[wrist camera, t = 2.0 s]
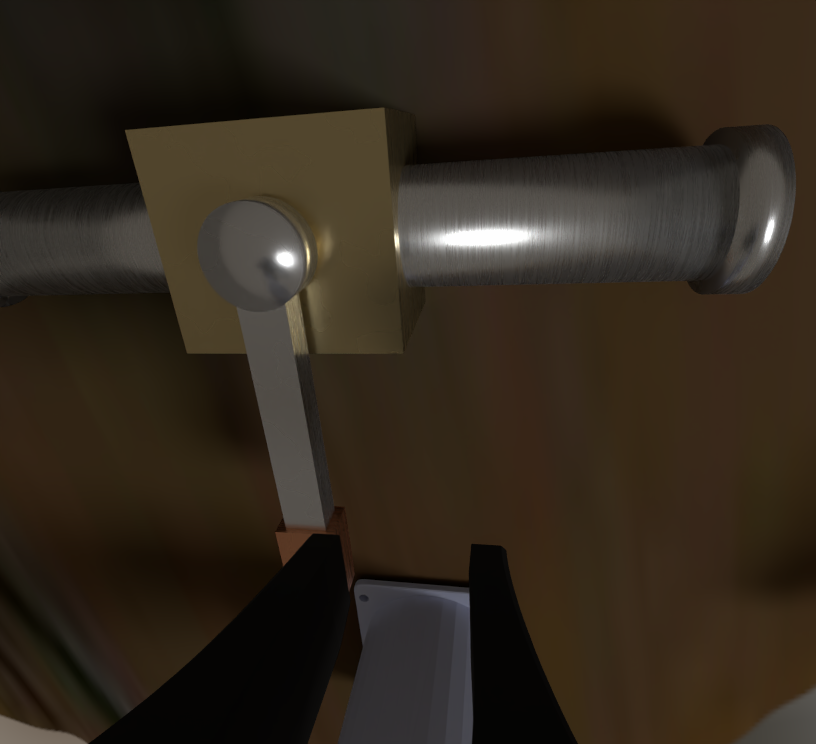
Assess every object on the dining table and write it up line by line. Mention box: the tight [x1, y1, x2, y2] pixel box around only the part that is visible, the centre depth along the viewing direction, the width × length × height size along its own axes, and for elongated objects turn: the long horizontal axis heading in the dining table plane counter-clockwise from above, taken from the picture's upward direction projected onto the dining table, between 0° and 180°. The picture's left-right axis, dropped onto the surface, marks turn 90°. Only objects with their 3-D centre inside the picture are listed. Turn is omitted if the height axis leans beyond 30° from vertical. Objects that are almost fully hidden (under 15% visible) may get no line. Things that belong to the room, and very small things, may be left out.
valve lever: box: [197, 196, 355, 591], centre depth 15 cm, size 14×3×1 cm, turn 4°
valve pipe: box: [0, 107, 796, 354], centre depth 16 cm, size 6×26×5 cm, turn 94°
